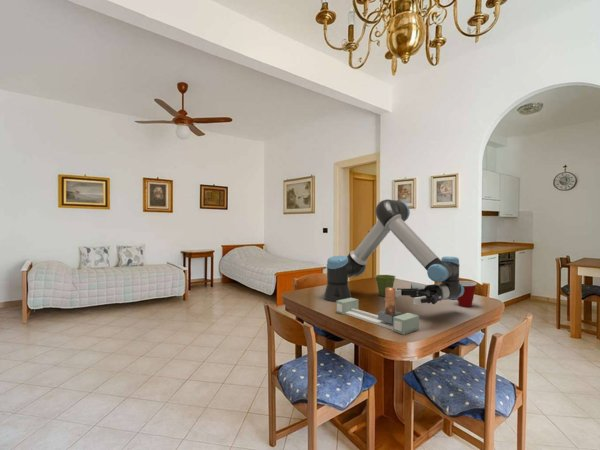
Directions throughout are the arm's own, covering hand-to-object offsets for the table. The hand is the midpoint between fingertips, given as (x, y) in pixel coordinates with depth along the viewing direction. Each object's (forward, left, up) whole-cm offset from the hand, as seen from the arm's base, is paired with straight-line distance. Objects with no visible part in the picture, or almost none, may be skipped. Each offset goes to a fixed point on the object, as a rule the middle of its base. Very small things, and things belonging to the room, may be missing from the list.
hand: (401, 297), depth 129 cm
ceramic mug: (-24, +51, -11) cm, 57 cm away
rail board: (-10, -5, -11) cm, 15 cm away
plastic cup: (+2, +51, -11) cm, 52 cm away
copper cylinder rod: (-2, -5, -9) cm, 10 cm away
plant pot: (-37, +37, -11) cm, 53 cm away
